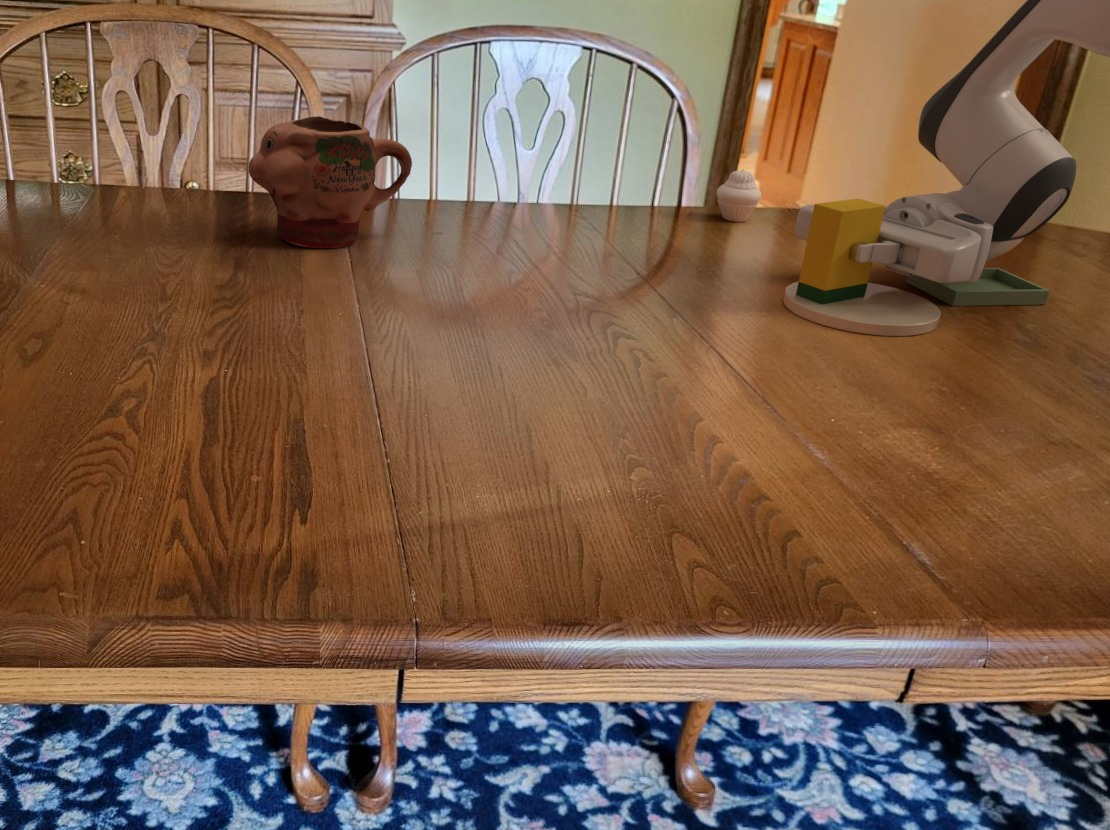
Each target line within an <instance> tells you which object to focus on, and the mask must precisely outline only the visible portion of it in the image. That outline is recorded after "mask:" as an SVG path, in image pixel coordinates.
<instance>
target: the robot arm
mask: <svg viewBox="0 0 1110 830" xmlns="http://www.w3.org/2000/svg"><path fill="white" fill-rule="evenodd" d="M1055 40H1057V41H1061V42H1065V43H1068V44H1073V45H1075V46H1078V47H1080V48H1083V49H1085V50H1088V51H1090V52H1092V53H1095V54H1097V55H1100V56H1103V57H1107V58H1110V0H1026V1H1025V2H1023V4H1022V5H1021V6H1020V7H1018V9H1017V10H1016V11H1015V12H1014V13H1013V14H1012V15H1011V17H1009V19H1007V21H1006V22H1005V23H1004V24H1003V25H1002V26H1001V27H1000V28H999V30H998V31H997V32H996V33H995V34H994V35H993V36H992V37H991V38H990V39H989V40H988V41H987V42H986V44H985V45H984V46H982V48H981V49H980V50H979V51H978V52H977V53H976V54H975V55H974V57H972V59H971V60H970V61H969V62H968V63H967V64H966V65H965V66H964V67H963V68H962V69H961V70H960V71H959V72H958V73H956V74H955V75H954V76H953V77H952V78H951V79H950V80H948V81H947V82H946V83H945V84H944V85H942V86H941V87H939V89H938V90H937V91H936V92H935V93H934V94H932V96H931V97H930V98H929V99H928V100H927V101H926V103H925V104H924V106H923V107H922V109H921V113H920V115H919V116H920V117H919V121H918V131H917V133H918V134H917V138H918V143H919V144H920V145H921V146H922V147H923V148H924V149H925V150H926V151H927V152H929V153H930V154H931V155H932V156H933V157H934V158H935V159H936V160H937V161H939V162H940V163H941V164H943V166H944V167H945V168H946V169H947V170H948V172H950V173H951V175H952V176H953V177H954V178H955V179H956V180H957V181H958V183H959V184H961V186H962V187H961V188H960V189H957V190H953V191H949V192H945V193H943V192H941V193H940V192H933V193H926V194H924V193H923V194H917V195H916V194H915V195H909V196H903V197H900V198H897V199H895V200H894V201H892V202H890V203H889V204H888V205H887V206H886V207H885V211H884V216H883V220H882V224H881V228H880V233H879V237H878V241H877V243H865V242H858V243H853V244H852V245H851V248H850V253H849V259H851V260H853V261H856V262H860V263H863V262H873V263H876V264H879V265H883V266H885V267H886V268H887V269H889V270H890V271H892V272H893V273H895V274H896V275H901V276H906V277H907V276H912V275H917V276H920V277H923V278H926V279H929V280H932V281H935V282H940V283H960V282H962V283H966V284H969V283H975V282H978V280H979V278H980V275H981V273H982V270H983V268H985V265H986V262H988V261H990V260H993V259H995V258H998V257H1000V256H1003V255H1004V254H1006V253H1007V252H1010V251H1012V250H1013V249H1015V248H1016V247H1017V246H1018V245H1019V244H1021V242H1022V241H1023V240H1024V239H1025V238H1026V237H1029V236H1031V235H1032V234H1034V233H1035V232H1037V231H1038V230H1039V229H1040V228H1042V227H1043V226H1044V225H1046V224H1047V223H1048V222H1049V221H1051V220H1052V218H1053V217H1054V216H1056V214H1058V213H1059V211H1060V210H1061V209H1062V208H1063V207H1064V206H1065V205H1066V203H1067V202H1068V200H1069V198H1070V196H1071V193H1072V190H1073V187H1074V184H1075V181H1076V175H1077V161H1076V159H1075V158H1074V157H1073V156H1072V155H1071V154H1070V153H1069V152H1068V150H1067V149H1065V147H1064V146H1063V145H1062V144H1061V142H1060V141H1058V139H1056V138H1055V137H1054V136H1053V134H1052V133H1051V132H1050V131H1049V130H1048V129H1046V128H1045V127H1044V126H1043V125H1042V124H1041V123H1040V122H1039V121H1038V120H1037V119H1036V118H1035V116H1033V115H1032V114H1031V112H1030V111H1028V109H1027V108H1026V107H1025V106H1024V105H1023V104H1022V103H1021V102H1020V100H1019V99H1018V97H1017V95H1016V92H1015V88H1014V82H1015V80H1016V79H1017V78H1018V77H1019V76H1020V75H1021V74H1022V73H1023V72H1024V71H1025V70H1026V69H1027V68H1028V67H1029V66H1030V65H1031V64H1032V63H1033V62H1034V61H1035V60H1036V59H1037V58H1038V57H1039V56H1040V55H1041V54H1042V53H1043V52H1044V51H1045V50H1046V49H1047V48H1048V47H1049V46H1050V45H1051V44H1052V43H1053V42H1054V41H1055ZM814 205H815V204H807V205H803V206H801V207H800V209H799V211H798V213H797V216H796V220H795V227H794V235H795V237H796V238H797V239H800V240H804V241H807V239H808V234H809V229H810V224H811V219H812V214H813V210H814Z"/></svg>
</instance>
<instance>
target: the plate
mask: <svg viewBox="0 0 1110 830" xmlns="http://www.w3.org/2000/svg"><path fill="white" fill-rule="evenodd" d="M798 282H799V280H798V281H795V282H793V283H790V284H788V285H787V286H786V288H785V289H784V293H783V298H782V301H783V304H784V306H785V307H786V308H787V309H788V310H789V311H790V312H791V313H793V314H795V315H797V316H799V317H801V318H803V319H804V320H808V321H810V322H813V323H816V324H818V325H822V326H825V327H828V328H833V329H837V330H840V331H845V332H851V333H857V334H862V335H863V334H864V335H872V336H882V337H883V336H884V337H885V336H886V337H908V336H919V335H924V334H928V333H931V332H932V331H934V330H935V329H937V328H938V326H939V324H940V320H941V316H942V311H941V309H940V308H939V307H938V306H937V305H936V304H935V303H933V302H931V301H930V300H929V299H926V298H925V297H923V296H921V295H917V294H915V293H912V292H909V291H907V290H903V289H900V288H896V287H892V286H888V285H883V284H880V283H873V282H868V284H867V289H866V293H865V296H864V297H859V298H853V299H848V300H843V301H837V302H832V303H827V304H820V303H817V302H814V301H811V300H809V299H806V298H803V297H800V296H798V295H796V292H797V287H798Z"/></svg>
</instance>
